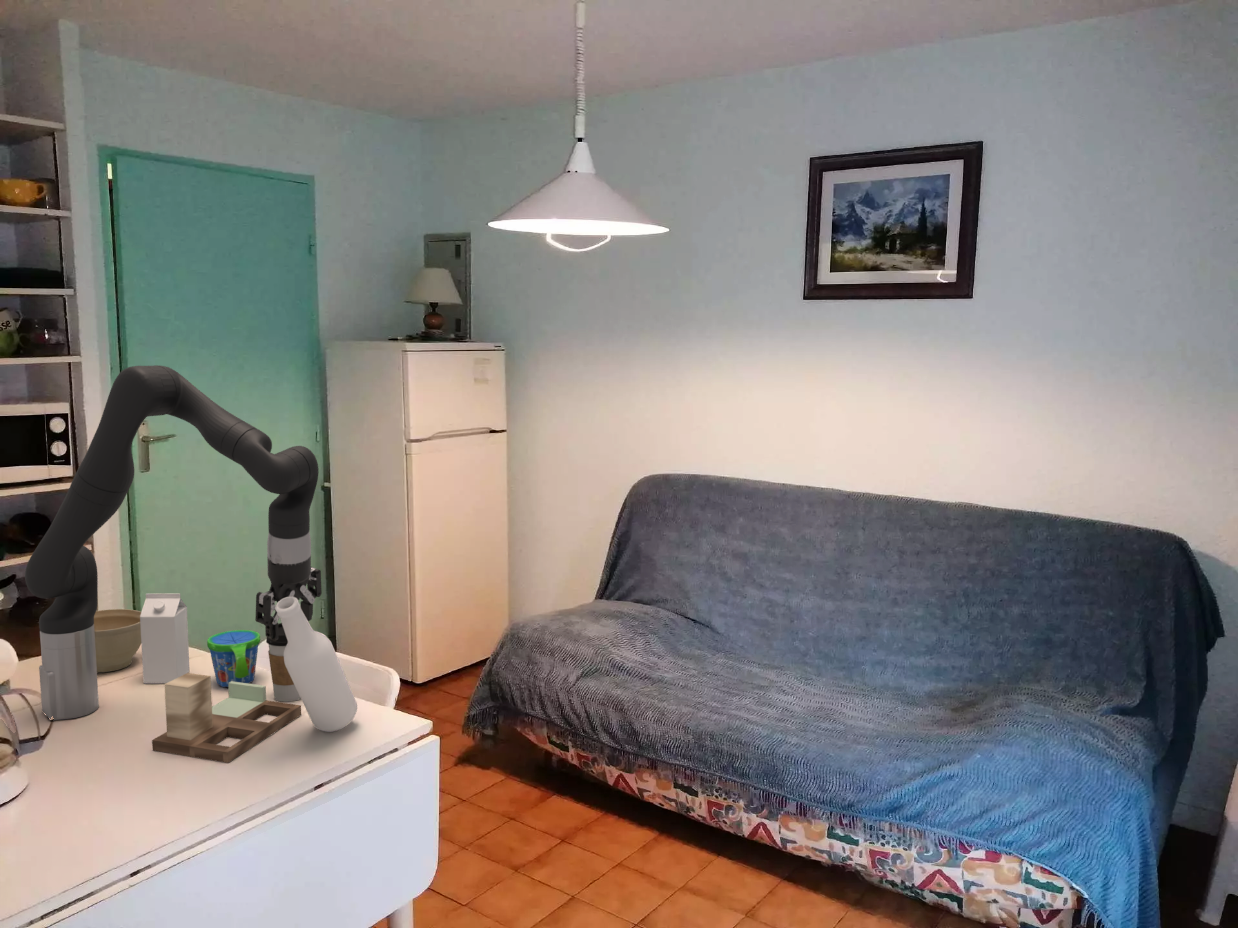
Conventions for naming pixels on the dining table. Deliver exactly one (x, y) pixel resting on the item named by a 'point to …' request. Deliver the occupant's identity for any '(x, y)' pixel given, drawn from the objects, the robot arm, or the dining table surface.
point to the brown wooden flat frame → (231, 733)
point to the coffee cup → (281, 669)
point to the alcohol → (315, 670)
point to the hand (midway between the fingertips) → (289, 629)
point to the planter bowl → (116, 638)
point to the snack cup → (234, 655)
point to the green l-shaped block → (240, 699)
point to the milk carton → (164, 638)
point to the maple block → (188, 706)
